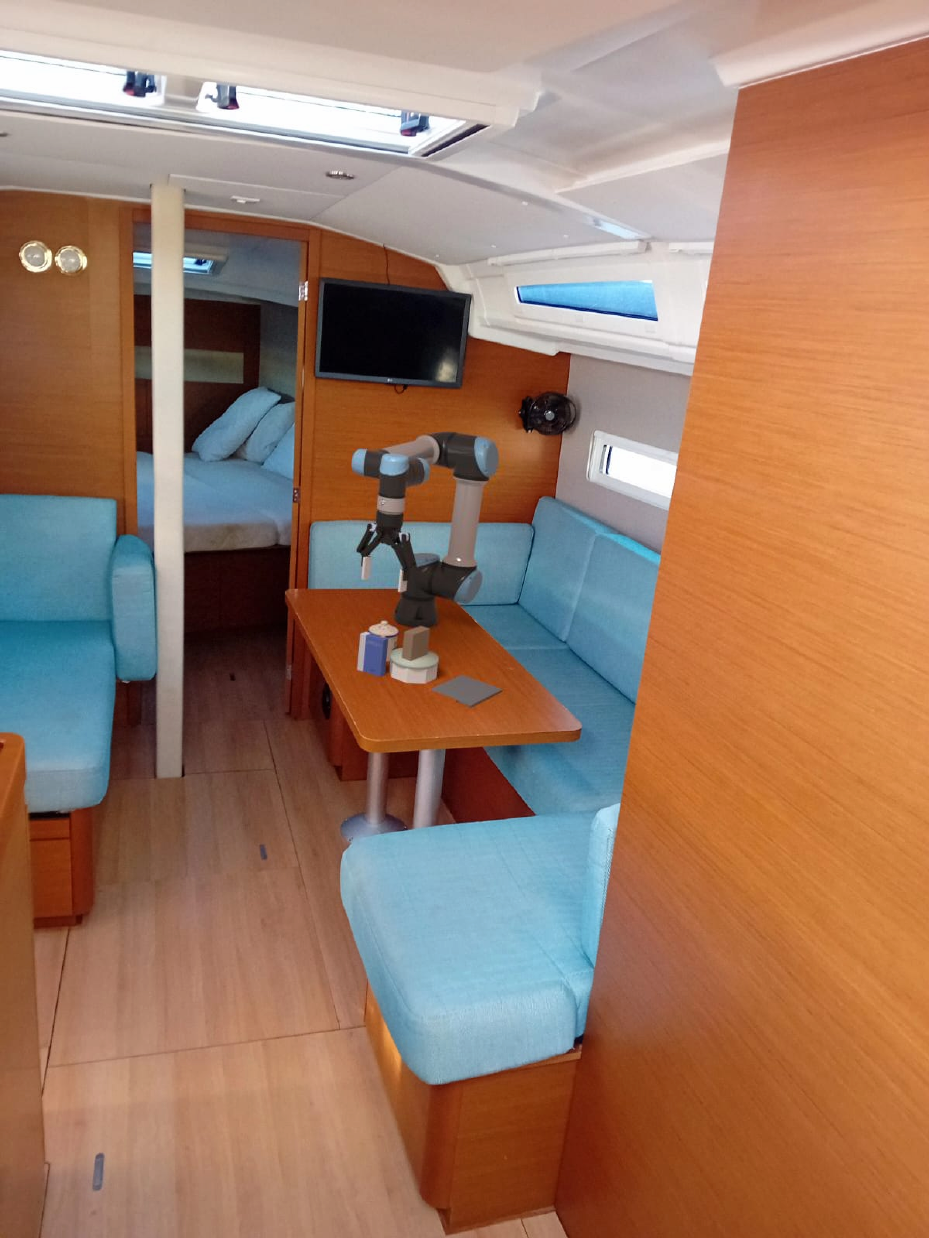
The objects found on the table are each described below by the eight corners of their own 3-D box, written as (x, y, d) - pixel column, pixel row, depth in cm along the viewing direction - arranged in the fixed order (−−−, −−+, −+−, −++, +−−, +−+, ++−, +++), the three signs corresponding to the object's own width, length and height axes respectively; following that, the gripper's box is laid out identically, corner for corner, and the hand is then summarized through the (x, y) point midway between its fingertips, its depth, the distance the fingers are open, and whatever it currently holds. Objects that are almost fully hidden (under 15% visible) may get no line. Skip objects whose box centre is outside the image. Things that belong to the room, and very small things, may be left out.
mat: (461, 676, 275) (462, 674, 274) (501, 691, 268) (502, 689, 267) (429, 691, 262) (430, 689, 262) (471, 707, 255) (471, 705, 254)
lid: (409, 647, 278) (412, 618, 275) (447, 661, 271) (451, 631, 268) (380, 658, 267) (382, 628, 264) (418, 673, 260) (422, 642, 257)
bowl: (408, 663, 279) (409, 648, 278) (443, 676, 273) (445, 661, 271) (380, 674, 269) (382, 658, 267) (416, 688, 262) (418, 672, 261)
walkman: (385, 675, 269) (388, 636, 265) (380, 678, 266) (383, 639, 262) (361, 668, 272) (365, 630, 268) (356, 671, 269) (359, 632, 265)
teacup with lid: (397, 664, 278) (401, 627, 274) (367, 662, 276) (370, 626, 273) (393, 649, 289) (396, 613, 286) (363, 648, 287) (367, 612, 284)
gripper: (347, 503, 259) (342, 575, 266) (416, 523, 246) (409, 599, 253) (365, 500, 265) (359, 571, 272) (434, 519, 252) (426, 594, 259)
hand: (383, 585), depth 263 cm, fingers open, 13 cm apart
